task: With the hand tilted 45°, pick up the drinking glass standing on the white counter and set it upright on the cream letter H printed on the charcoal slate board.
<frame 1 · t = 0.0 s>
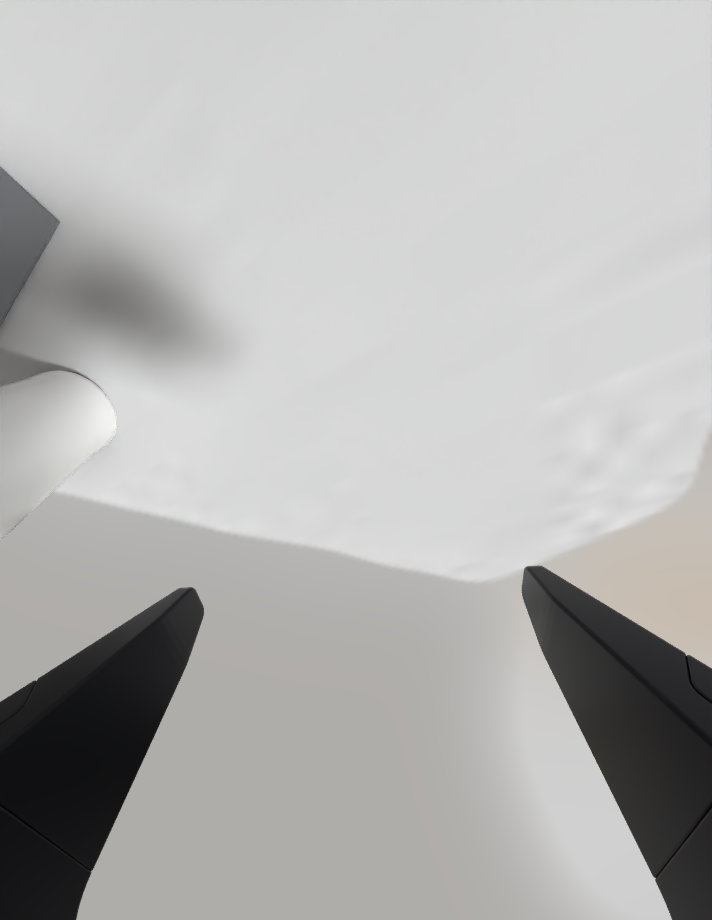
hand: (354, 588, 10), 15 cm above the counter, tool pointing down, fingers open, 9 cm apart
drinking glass: (81, 407, 24), on the counter
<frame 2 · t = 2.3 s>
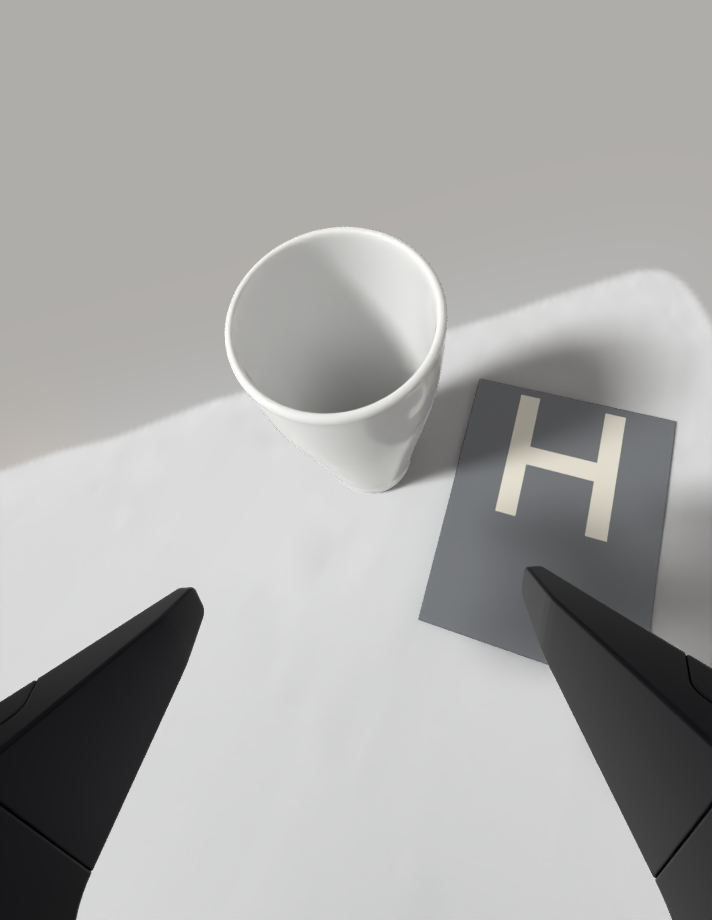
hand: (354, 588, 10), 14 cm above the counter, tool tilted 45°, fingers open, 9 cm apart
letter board: (549, 518, 23), on the counter
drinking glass: (371, 457, 25), on the counter
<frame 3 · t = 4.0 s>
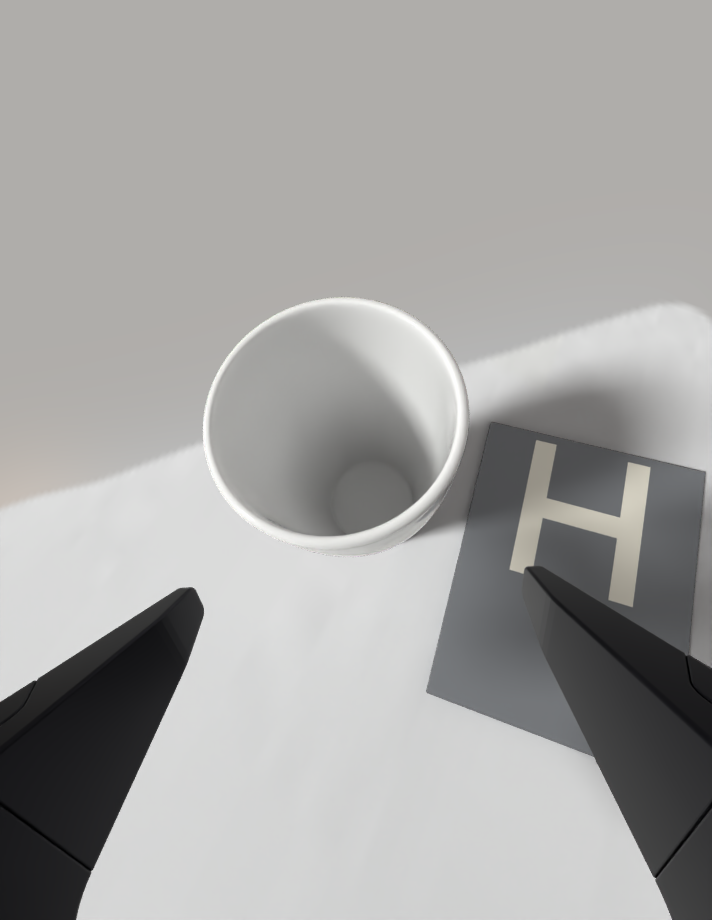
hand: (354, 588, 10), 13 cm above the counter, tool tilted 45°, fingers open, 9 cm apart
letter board: (568, 578, 21), on the counter
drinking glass: (373, 506, 24), on the counter
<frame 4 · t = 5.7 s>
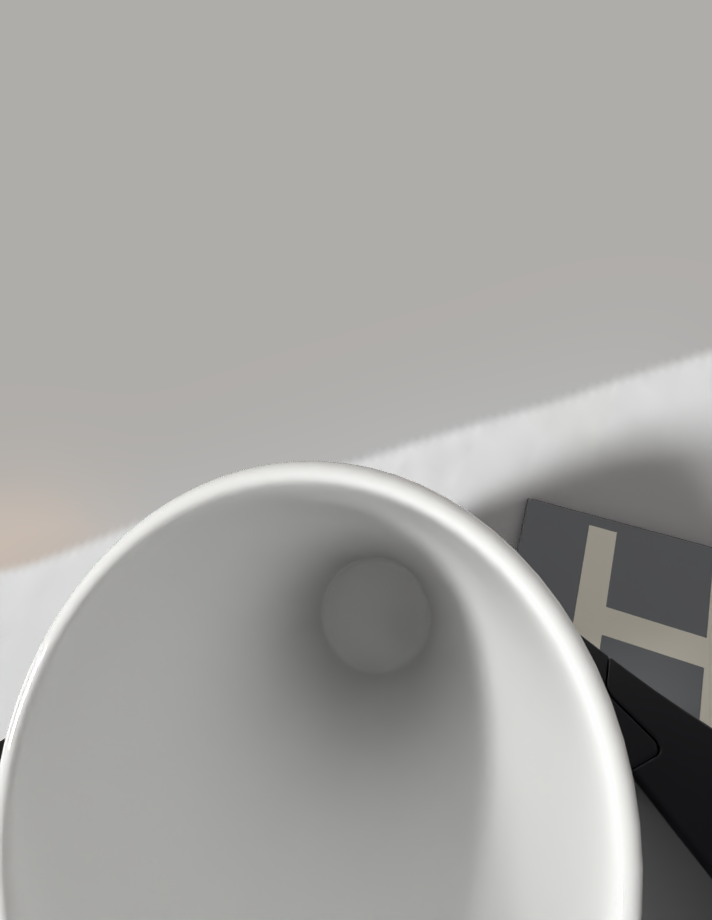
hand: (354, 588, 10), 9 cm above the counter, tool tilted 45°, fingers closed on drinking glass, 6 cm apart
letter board: (638, 721, 16), on the counter
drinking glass: (377, 608, 18), on the counter, touching gripper
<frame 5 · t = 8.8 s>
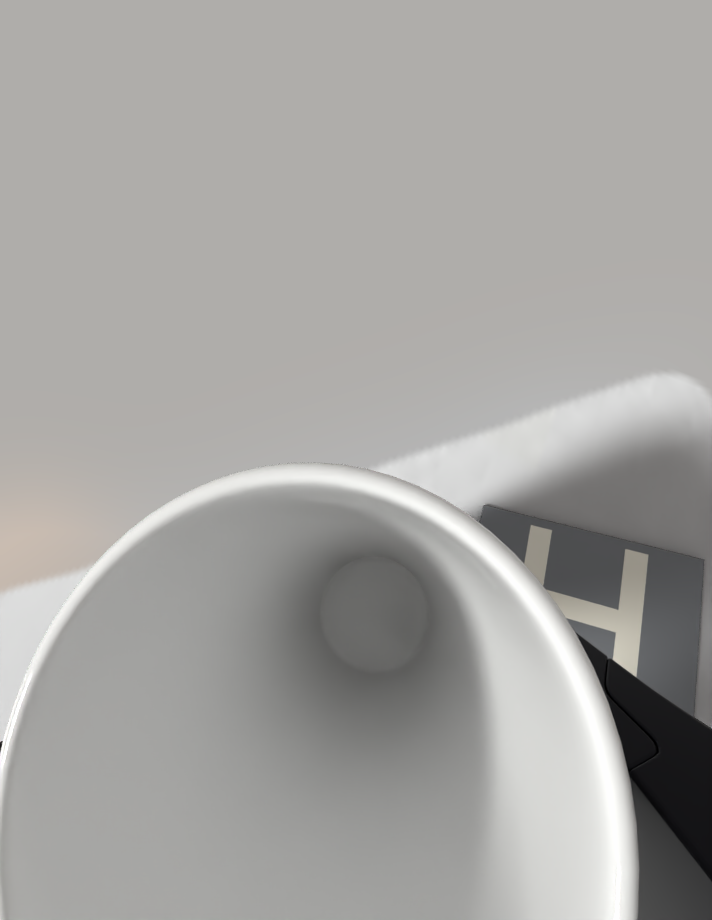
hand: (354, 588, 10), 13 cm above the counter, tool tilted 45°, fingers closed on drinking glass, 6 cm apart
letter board: (567, 675, 20), on the counter
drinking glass: (376, 607, 18), point 4 cm above the counter, touching gripper
when the fingers open (10 cm above the counter, at t = 11.6 s): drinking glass stays where it is, resting on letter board.
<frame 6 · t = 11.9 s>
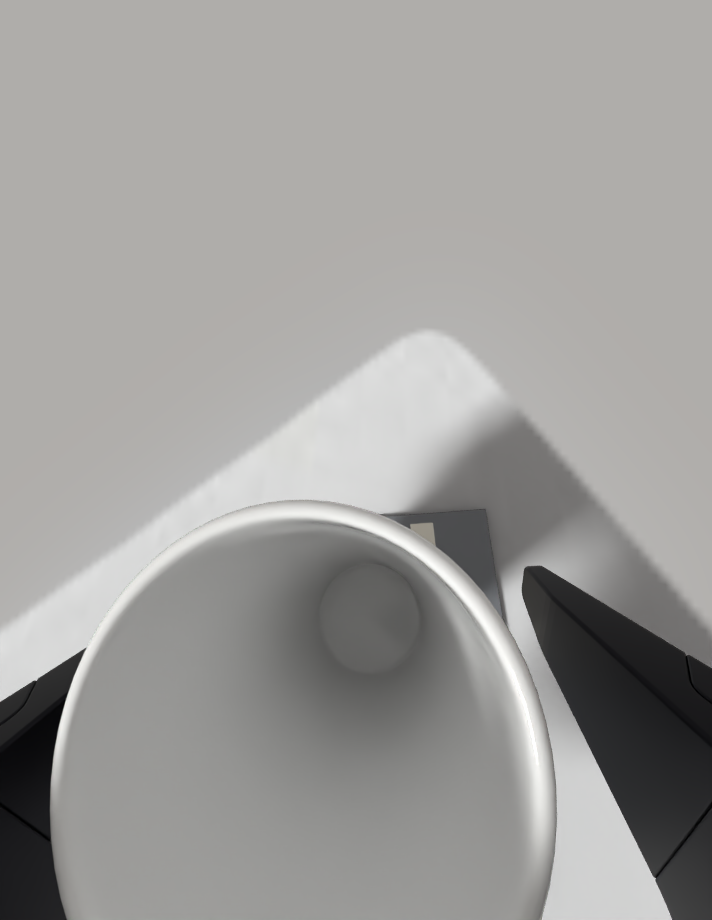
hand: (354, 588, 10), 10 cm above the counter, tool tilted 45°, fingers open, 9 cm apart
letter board: (384, 681, 18), on the counter
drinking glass: (372, 611, 19), resting on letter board
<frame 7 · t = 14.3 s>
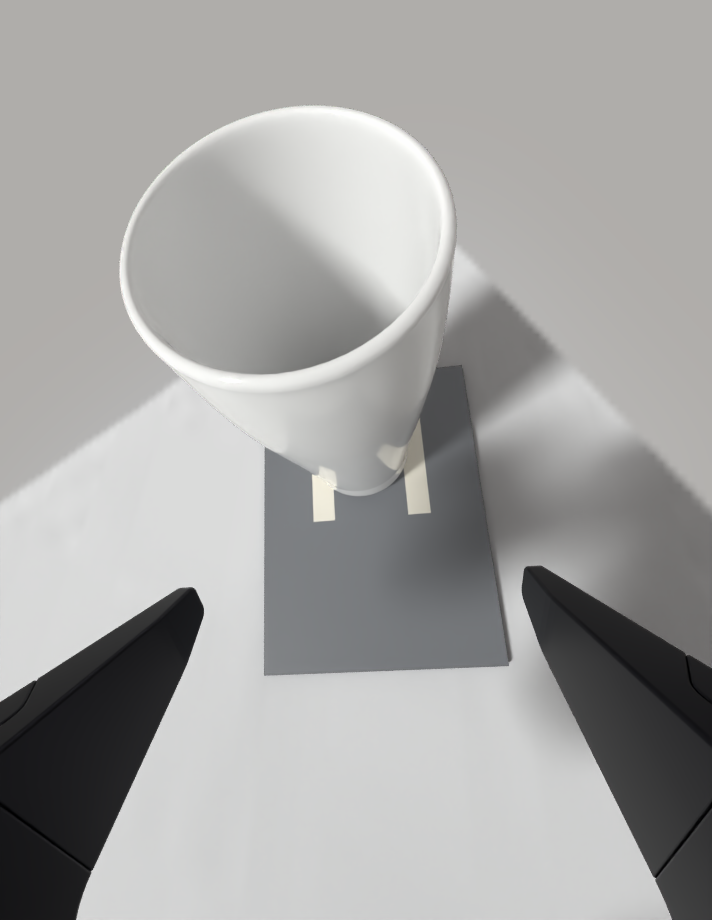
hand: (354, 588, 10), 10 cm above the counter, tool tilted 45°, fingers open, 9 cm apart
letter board: (371, 509, 21), on the counter
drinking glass: (361, 453, 22), resting on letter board
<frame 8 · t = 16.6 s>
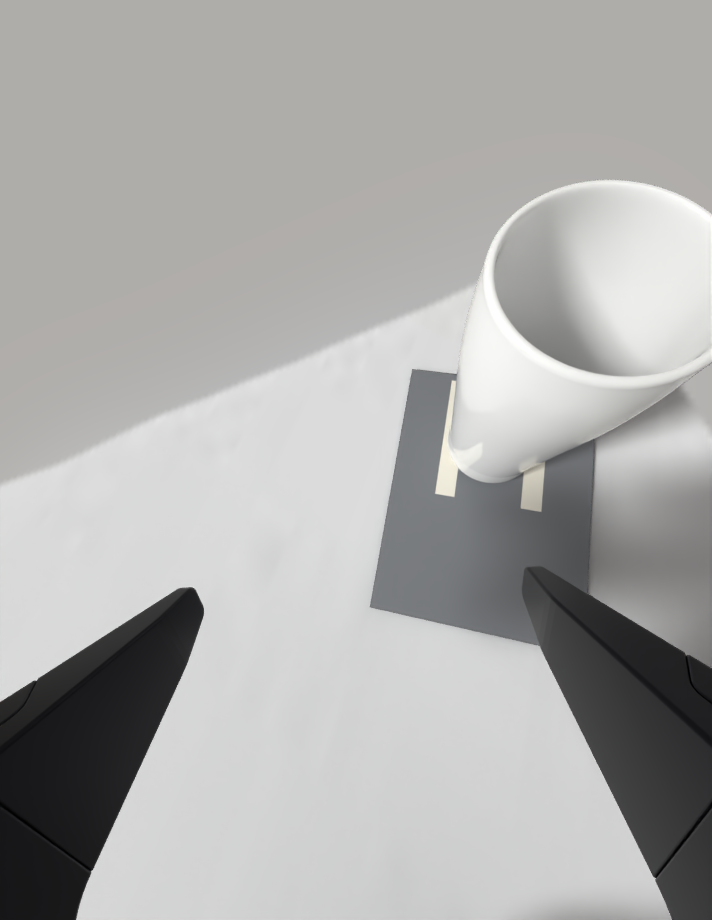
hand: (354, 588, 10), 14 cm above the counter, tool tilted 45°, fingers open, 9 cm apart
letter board: (486, 495, 24), on the counter
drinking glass: (487, 446, 24), resting on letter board
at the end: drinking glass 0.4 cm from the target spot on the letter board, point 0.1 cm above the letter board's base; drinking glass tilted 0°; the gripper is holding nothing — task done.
